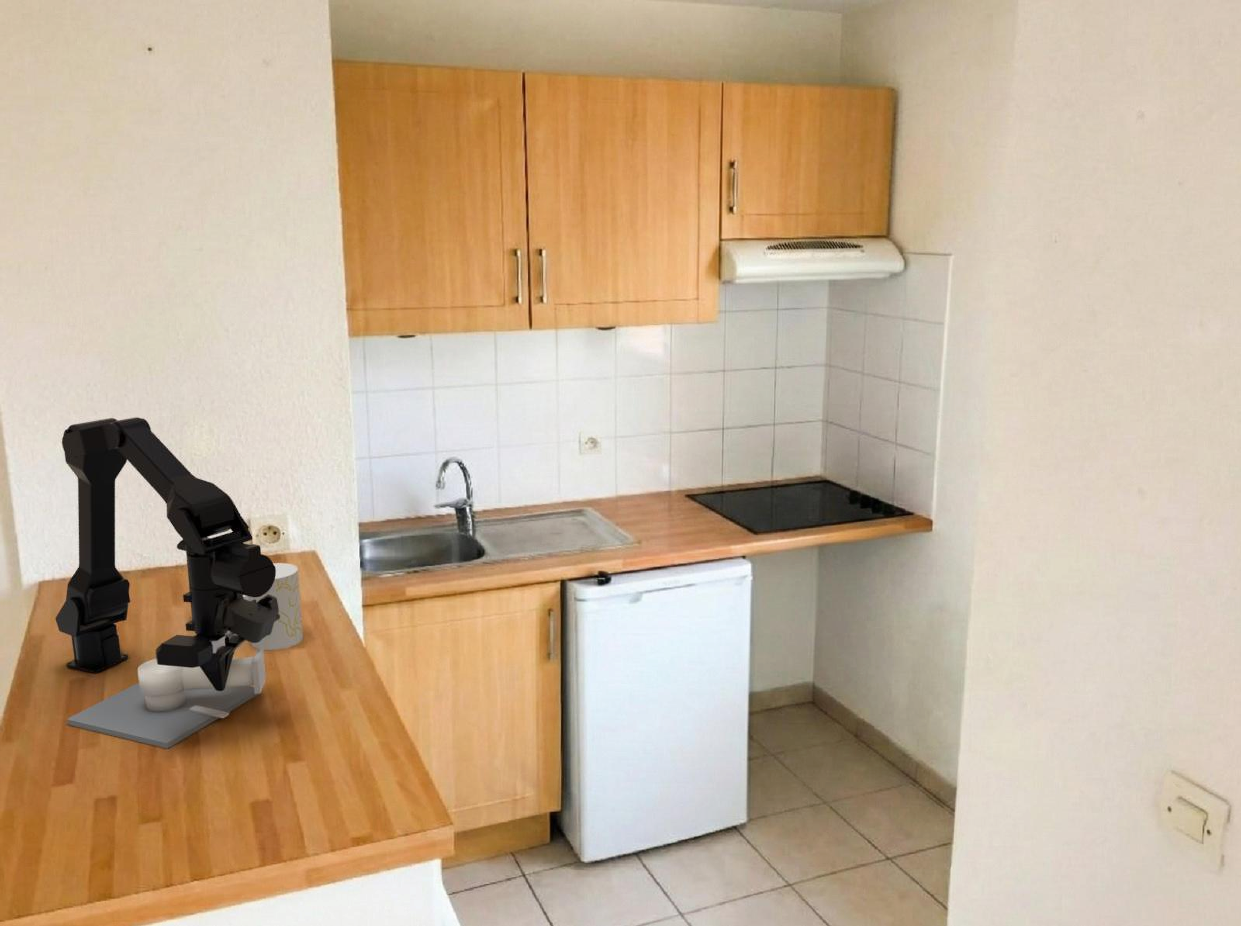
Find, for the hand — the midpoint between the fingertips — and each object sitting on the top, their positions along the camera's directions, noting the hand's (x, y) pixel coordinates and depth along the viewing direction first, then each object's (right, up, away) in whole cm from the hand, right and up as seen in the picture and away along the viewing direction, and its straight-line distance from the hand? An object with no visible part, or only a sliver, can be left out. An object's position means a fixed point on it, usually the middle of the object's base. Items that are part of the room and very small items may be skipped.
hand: (220, 690), depth 151 cm
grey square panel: (-7, -3, +3) cm, 9 cm away
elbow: (-4, -1, +3) cm, 5 cm away
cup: (-1, +2, +27) cm, 27 cm away
